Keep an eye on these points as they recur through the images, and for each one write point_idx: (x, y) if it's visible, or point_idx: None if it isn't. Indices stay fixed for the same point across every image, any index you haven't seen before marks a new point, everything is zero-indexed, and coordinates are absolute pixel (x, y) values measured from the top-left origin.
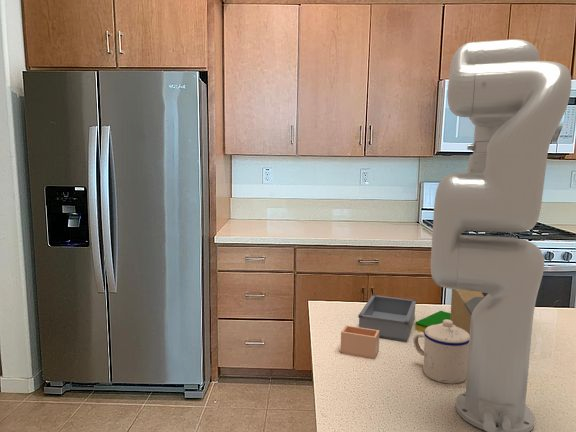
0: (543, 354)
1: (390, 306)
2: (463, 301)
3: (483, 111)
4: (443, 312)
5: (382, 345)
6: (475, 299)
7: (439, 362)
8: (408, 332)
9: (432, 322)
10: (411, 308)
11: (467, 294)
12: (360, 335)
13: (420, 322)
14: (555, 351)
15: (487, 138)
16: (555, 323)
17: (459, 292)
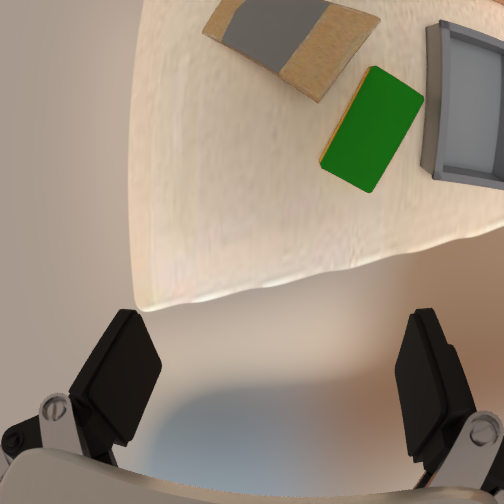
0: (173, 61)
1: (473, 173)
2: (337, 4)
3: None
4: (366, 180)
5: (459, 8)
6: (305, 31)
7: None
8: (430, 46)
9: (390, 105)
10: (444, 113)
11: (329, 24)
12: None
13: (414, 98)
14: (154, 86)
15: None
16: (151, 233)
17: (354, 11)
